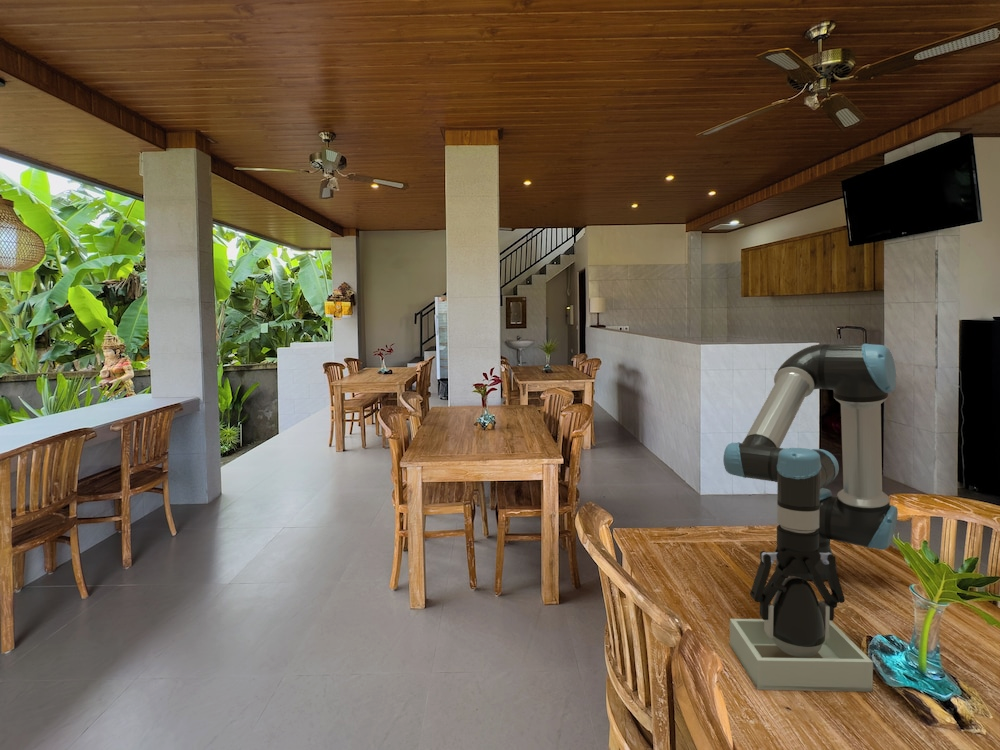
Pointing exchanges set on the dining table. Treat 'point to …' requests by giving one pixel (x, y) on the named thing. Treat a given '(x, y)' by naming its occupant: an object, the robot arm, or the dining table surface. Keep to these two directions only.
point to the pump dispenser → (797, 618)
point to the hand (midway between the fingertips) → (796, 634)
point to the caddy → (800, 661)
